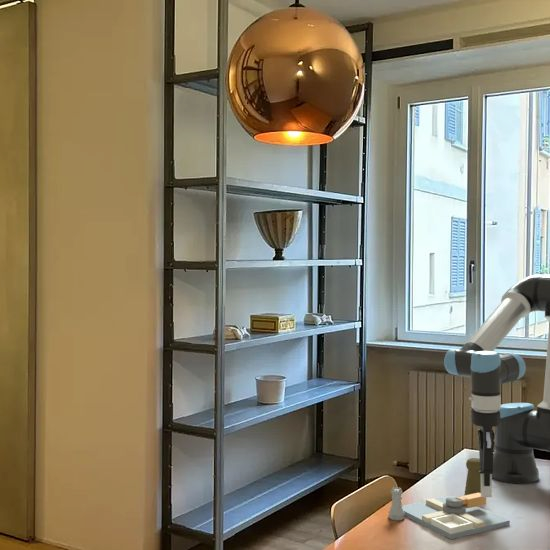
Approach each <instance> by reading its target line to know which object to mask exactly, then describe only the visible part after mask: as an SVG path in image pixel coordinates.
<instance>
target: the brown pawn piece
mask: <svg viewBox="0 0 550 550" xmlns="http://www.w3.org/2000/svg"><path fill="white" fill-rule="evenodd" d="M479 463H480V459H479V458H478V457H471V458H468V459H467V460H466V462H465V466H466V469H467V474H466V481H465V489H464V495H469V494H474V493H481V474H479V471H481V469H480V467H481V466H480V465H479ZM464 495H463V496H464Z"/></svg>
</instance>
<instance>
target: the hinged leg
mask: <svg viewBox="0 0 550 550" xmlns="http://www.w3.org/2000/svg"><path fill="white" fill-rule="evenodd" d="M463 504H464V505H465V506H466V508H471V507H476V506H478V507H481V506H485V505H487V497H481V493H474V494H469V495H461V496H459V497H456V496H454V497H448V498H446V505H447V506H449V507H453V508H459V507H462V506H463Z"/></svg>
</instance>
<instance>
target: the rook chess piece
mask: <svg viewBox="0 0 550 550" xmlns="http://www.w3.org/2000/svg"><path fill="white" fill-rule="evenodd" d="M403 493H404V492H403V490H402V488H401V487H399V486H393V487H392V488H391V490H390V494H391V495H392V496H391V497H390V498H391V507H390V508H389V510H388V515H387V517H388V518H389V519H390V520H391V521H398V522H399V521H403V520H404V519H405V518H406V516H404V514H405V513H404V511H403V508H402V506H403V505H402V499H403V496H402V495H403Z"/></svg>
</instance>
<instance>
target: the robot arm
mask: <svg viewBox="0 0 550 550" xmlns="http://www.w3.org/2000/svg"><path fill="white" fill-rule="evenodd" d="M532 312H544V318H545V320H546V321H548V334H547V336H548V337H547V348H546V362H545V373H544V374H545V375H544V383H543V385H544V386H543V400H542V401H541V402H540V403H539V404H537V410H535V406H534V404H533V403H531V402H530V403H529V402H510V403H503V404H501V403H502V402H501V401H502V400H501V399H502V397H501V396H502V395H501V385H502V384H508V383H510V382H511V383H513V382H516V381H517V380H520V379H522V378H523V376H524V375H525V374H526V371H527V365H526V362H525V360H524V359H523V357H522V356H520V355H519V354H518V353H505V354H499V352H497V351H495V350H496V349H497V348H498V346H499V345H501V343H502V342H503V340H504V339H505V338H506V337H507V335H508V334H509V333H511V331H512V330H513V328H514V327H515V326H516V325H517V324H518V322H519V321H520V320H521V319H522V318H523V319H524V318H526V317H528V316H529V314H530V313H532ZM444 355H445V356H444V358H443V359H444V360H443V364H444V365H443V366H444V368H445V370H446V372H448V374H451V375H455V376H458V377H466V378H471V379H470V380H471V381H470V383H471V384H470V385H471V389H470V391H471V393H470V394H471V396H470V397H468V399H469V401H471V402H470V403H471V405H470V406H471V409H472V410H471V411H470V413H471V414H470V415H471V416H470V418H471V419H470V421H471V424H472V425H474V426H477V427H479V429H477V436H478V452H479V455H478V457H479V459H480V463H479V465H480V466H481V467H480V469H481V471H479V474H481V497H486V498H493V494H492V492H493V487H492V486H493V483H492V482H493V481H492V480H493V479H494V480H497V481H501V482H505V483H511V484H532V483H535V482H537V481H539V478H540V471H539V469H538V468H537V462H536V459H535V455H534V450H539V451H545V452H547V453H548V452H549V453H550V273H549V274H547V273H538V274H537V273H536V274H532V275H529V276H527V277H524V278H522V279H521V280H520V281H517V283H515V284H514V285H512V286H511V287H509V289H507V290H506V291H505V293H504V294H503V295H502V296H501V299H500V303H499V304H498V306H496V308H495V309H494V310H493V312H492V313H491V314H490V315H489V316H488V317H487V318H486V320H485V321H484V322H483V323H482V324H481V325H480V326H479V327H478V329H477V330H476V331H475V332H474V333H473V334H472V336H470V338H469V339H468V340H467V341H466V343H465V344H463V346H462V347H461V348H451V349H449V350H447V351H446V353H445V354H444ZM492 428H494V429H492Z"/></svg>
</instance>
